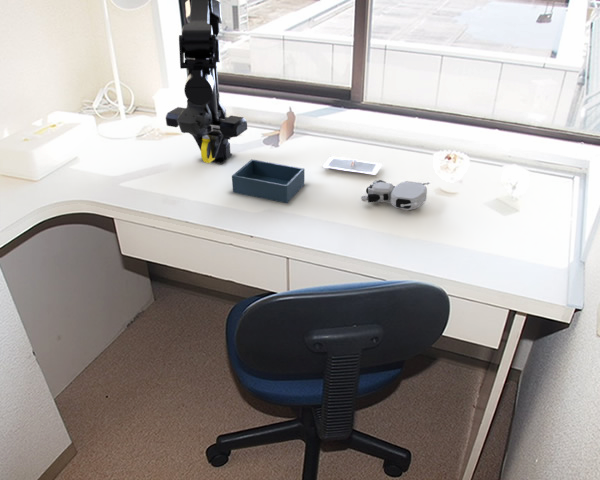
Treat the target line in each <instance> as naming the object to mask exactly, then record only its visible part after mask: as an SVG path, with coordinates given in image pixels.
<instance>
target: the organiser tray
mask: <svg viewBox="0 0 600 480" xmlns="http://www.w3.org/2000/svg"><path fill="white" fill-rule="evenodd" d="M231 186H232V193H233V194H239V195H244V196H248V197H249V196H250V197H254V198H259V199H264V200H269V201H275V202H279V203H284V204H288V203H289V202H290V201H291V200H292V199H293V198H294V197H295V196H296V195H297V194H298V193H299V191H301V189H302V188H303V187H304V186H305V168H303V167H299V166H298V167H297V166H292V165H287V164H280V163H275V162H270V161H263V160H258V159H250V160H249V161H248V162H246V163H245V164H244V165H243V166H241V168H239V169H238V170H237V171H236V172H235V173H233V174H232V175H231Z"/></svg>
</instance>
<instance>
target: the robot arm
mask: <svg viewBox="0 0 600 480" xmlns="http://www.w3.org/2000/svg"><path fill="white" fill-rule="evenodd" d="M184 5H185V19H186V21H187V23H186V24H184V25H183V26H182V29H181V34H179V35H178V47H179V48H178V50H179V65H180V67H179V68H180V69H181V70H182V69H187V78H186V81H185V84H184V96H185V97H186V107H180V106H178V107H176V108H173V109H172V110H170V111H168V112H167V113H166V115H165V125H166V126H167V127H172V128H178V127H179V130H180V132H181V133H183V134H189V135H191V136H192V137H193V139H194V140H195V143H196V144H197V147H198V148H199V150H200V151H201V146H202V142H203V140H202V136H204V135H208V137H209V138H210V142H209V143H208V146H207V158H209V157H210V154H211V155H212V158H215V159H214V160H213V161H211V162H210V163H215V164H224V163H225V162H226V161H227V160H228V159H230V158H232V156H233V153H231V144H230V142H229V140H231V139H232V138H237V137H239V136H240V135H241V134H243V133H245V132H246V131H247V130H248V121H247V119H246V118H245V117H244V116H236V115H230V116H227V109H226V107H225V106H224V105H223V103H222V102H221V101H220V89H219V78H218V76H219V75H218V63H220V62H221V60H220V59H221V57H220V40H219V39H218V36H219V33H220V31H221V25H220V24H223V15H222V14H223V13H222V7H221V2H220V1H219V0H186V1H185V3H184Z"/></svg>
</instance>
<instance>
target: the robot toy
mask: <svg viewBox="0 0 600 480" xmlns="http://www.w3.org/2000/svg"><path fill="white" fill-rule="evenodd" d="M430 184H431V183H430V182H424V183H423V182H419V181H418V182H417V181H408V180H407V181H401V182H400V183H398V184H396V185H394V184H392V183H390V182H386V181H384V180H381V179H379V180H374V181H372V183H371V184H369V185H368V186H367V187H366V189H365V193H366V194H367V195H362V196H361V197H360V201H362V202H367V203H389V202H390V204H391V205H392V206H393V207H394V208H396V209H401V210H403V211H406V212H408V211H410V210H414V209H418V208H419V207H421V206H422V205H423V204H424V203H425V202H426V201H427V196H428V195H427V193H428V187H427V186H426V185H430Z"/></svg>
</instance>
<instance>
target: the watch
mask: <svg viewBox="0 0 600 480" xmlns="http://www.w3.org/2000/svg"><path fill="white" fill-rule="evenodd" d="M202 140H203V142H202V146H201V150H200V155H201V156H200V157H201V159H202V161H203V162H204V163H206V164H211V163H212V162H211V161H213V160H214V159H215V158H212V155H211V154H210V157H209V158H207V146H208V143H209V142H210V138H209V137H208V135H204V136H202Z"/></svg>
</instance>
